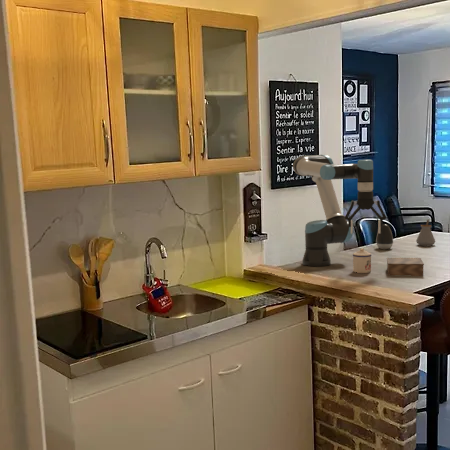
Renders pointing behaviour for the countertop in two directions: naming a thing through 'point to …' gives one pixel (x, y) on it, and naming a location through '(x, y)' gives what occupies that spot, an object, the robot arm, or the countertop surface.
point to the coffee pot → (425, 236)
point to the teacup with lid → (362, 261)
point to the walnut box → (405, 266)
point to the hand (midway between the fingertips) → (365, 233)
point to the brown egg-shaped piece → (384, 237)
